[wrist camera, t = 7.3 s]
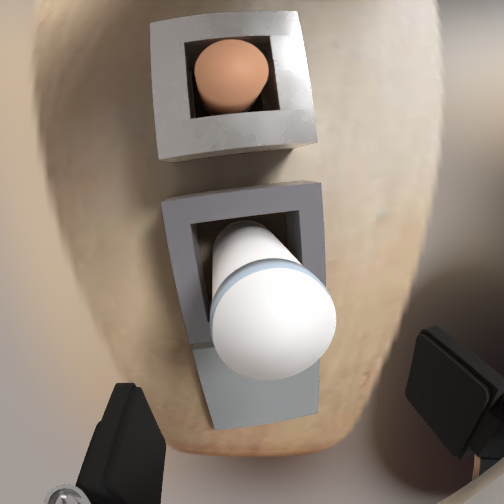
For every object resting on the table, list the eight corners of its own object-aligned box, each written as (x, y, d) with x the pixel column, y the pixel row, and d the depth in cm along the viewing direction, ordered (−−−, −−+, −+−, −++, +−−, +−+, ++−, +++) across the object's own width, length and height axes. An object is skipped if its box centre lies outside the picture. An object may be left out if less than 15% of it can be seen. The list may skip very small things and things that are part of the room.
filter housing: (170, 196, 21) (160, 202, 17) (303, 180, 22) (320, 182, 18) (192, 318, 24) (189, 344, 20) (310, 300, 25) (326, 322, 21)
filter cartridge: (207, 223, 22) (199, 279, 10) (275, 215, 22) (339, 261, 11) (216, 287, 23) (220, 389, 12) (280, 279, 24) (335, 369, 12)
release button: (197, 71, 18) (192, 43, 13) (253, 65, 18) (263, 37, 13) (202, 122, 19) (197, 106, 14) (259, 116, 19) (272, 99, 14)
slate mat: (192, 343, 24) (192, 349, 23) (316, 324, 25) (319, 329, 24) (215, 423, 27) (215, 430, 26) (315, 407, 28) (317, 413, 27)
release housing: (163, 53, 18) (149, 22, 13) (279, 43, 19) (297, 11, 13) (172, 162, 20) (158, 159, 15) (293, 148, 21) (317, 142, 16)
